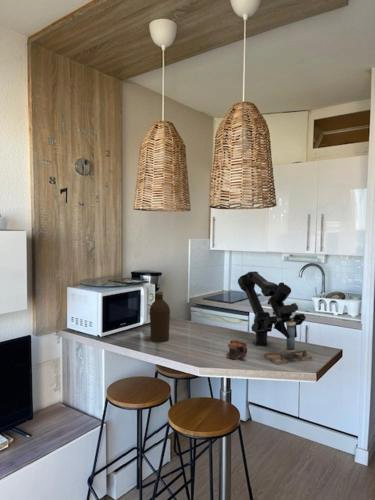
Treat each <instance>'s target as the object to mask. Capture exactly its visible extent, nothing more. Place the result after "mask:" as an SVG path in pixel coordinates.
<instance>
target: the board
mask: <svg viewBox="0 0 375 500" xmlns="http://www.w3.org/2000/svg"><path fill="white" fill-rule="evenodd" d="M294 357H295V358H297V359H298V360H300V361H302V362H306V361H312V360H313V355H311V354H308V353H307V349H301V350H300V349H295V351H292V352H286V350H283V351H277V352H267V353H263V358H265V359H267V360H269V361H270V362H271V363H272V364H275V365H283V364H287V363H288V359H287V358H294Z"/></svg>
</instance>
